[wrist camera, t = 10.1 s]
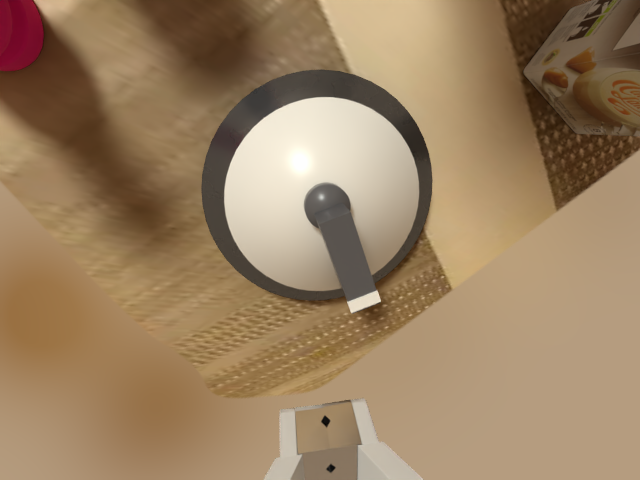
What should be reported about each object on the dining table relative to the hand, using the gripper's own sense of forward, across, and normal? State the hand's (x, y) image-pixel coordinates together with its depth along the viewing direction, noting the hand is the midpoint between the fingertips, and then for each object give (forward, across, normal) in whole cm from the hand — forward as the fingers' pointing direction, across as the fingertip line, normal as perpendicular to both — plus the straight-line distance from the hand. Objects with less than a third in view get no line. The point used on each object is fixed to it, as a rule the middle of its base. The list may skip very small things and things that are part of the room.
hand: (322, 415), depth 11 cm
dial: (+18, +3, +3) cm, 19 cm away
